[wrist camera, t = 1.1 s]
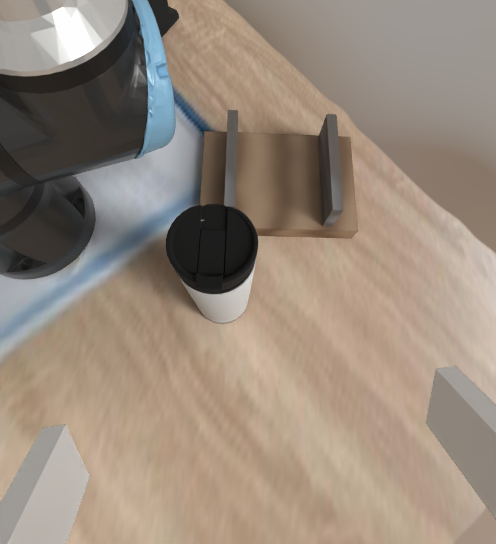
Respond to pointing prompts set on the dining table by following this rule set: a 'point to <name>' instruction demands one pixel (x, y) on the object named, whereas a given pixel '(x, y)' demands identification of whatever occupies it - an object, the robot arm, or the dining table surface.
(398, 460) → the dining table surface
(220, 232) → the travel mug
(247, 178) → the wooden rack
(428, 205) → the dining table surface
